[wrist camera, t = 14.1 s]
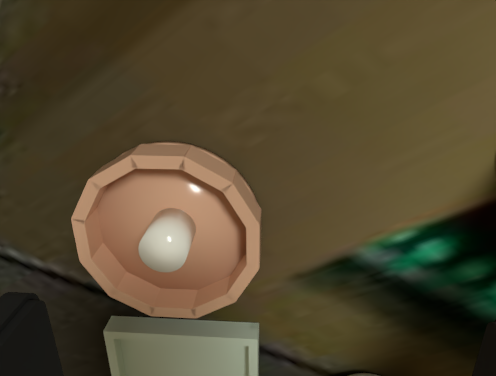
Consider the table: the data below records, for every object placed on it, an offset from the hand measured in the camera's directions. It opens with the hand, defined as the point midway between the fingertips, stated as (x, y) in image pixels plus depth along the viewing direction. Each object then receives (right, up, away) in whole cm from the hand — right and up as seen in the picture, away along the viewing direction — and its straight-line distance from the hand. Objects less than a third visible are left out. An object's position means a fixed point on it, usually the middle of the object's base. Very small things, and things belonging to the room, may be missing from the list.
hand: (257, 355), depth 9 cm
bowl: (-8, 0, +34) cm, 35 cm away
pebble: (-8, 0, +33) cm, 34 cm away
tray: (-7, -19, +43) cm, 47 cm away
